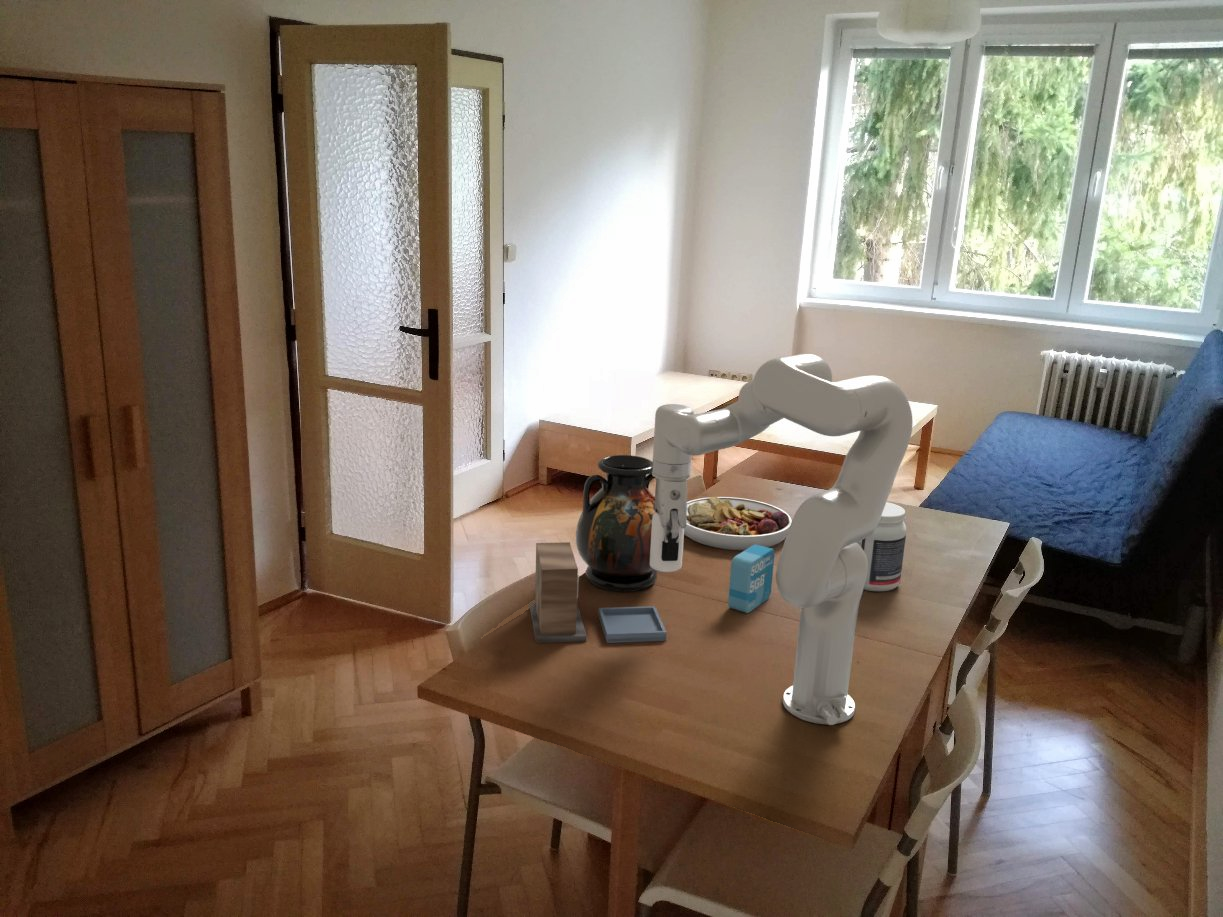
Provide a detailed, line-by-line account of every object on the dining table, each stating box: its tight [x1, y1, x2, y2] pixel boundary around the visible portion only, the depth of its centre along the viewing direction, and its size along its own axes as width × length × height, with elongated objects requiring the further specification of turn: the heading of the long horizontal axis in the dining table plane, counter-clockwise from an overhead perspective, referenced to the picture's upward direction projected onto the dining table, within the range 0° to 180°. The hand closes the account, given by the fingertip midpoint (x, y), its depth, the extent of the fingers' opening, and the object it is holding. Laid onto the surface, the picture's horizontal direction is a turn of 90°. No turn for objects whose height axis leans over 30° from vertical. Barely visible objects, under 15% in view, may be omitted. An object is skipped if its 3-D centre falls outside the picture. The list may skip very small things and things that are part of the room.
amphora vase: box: [575, 454, 658, 592], centre depth 222 cm, size 22×22×28 cm
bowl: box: [684, 496, 793, 551], centre depth 257 cm, size 30×30×8 cm
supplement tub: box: [856, 501, 908, 592], centre depth 227 cm, size 13×13×18 cm
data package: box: [727, 544, 775, 614], centre depth 214 cm, size 12×4×12 cm, turn 145°
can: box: [650, 509, 685, 574], centre depth 197 cm, size 6×6×12 cm
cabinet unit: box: [529, 541, 587, 644], centre depth 201 cm, size 16×10×15 cm, turn 9°
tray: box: [598, 605, 668, 644], centre depth 202 cm, size 12×12×2 cm
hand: (666, 552), depth 197 cm, fingers closed on can, 6 cm apart
